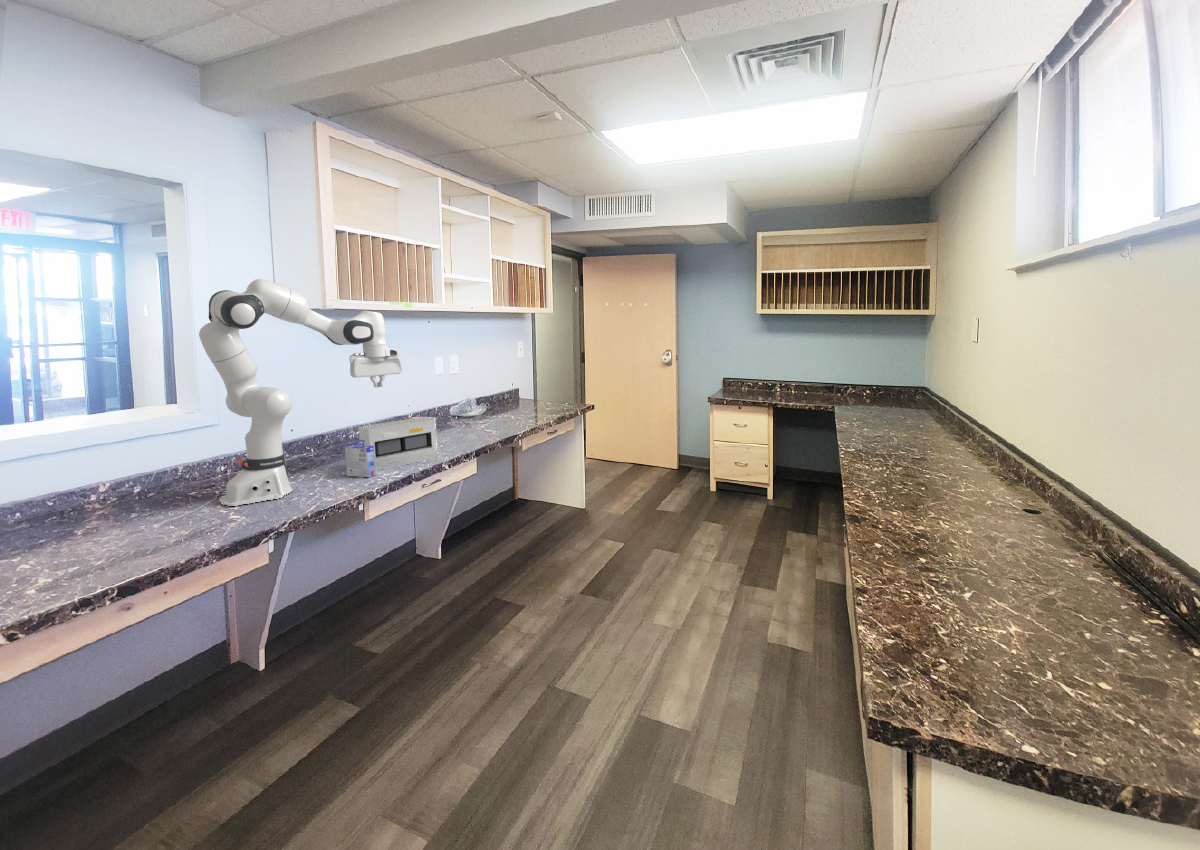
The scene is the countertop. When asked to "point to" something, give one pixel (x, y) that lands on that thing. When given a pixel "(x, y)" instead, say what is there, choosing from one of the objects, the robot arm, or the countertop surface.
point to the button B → (413, 441)
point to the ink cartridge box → (360, 460)
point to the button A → (387, 446)
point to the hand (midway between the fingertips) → (378, 387)
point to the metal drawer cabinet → (396, 431)
